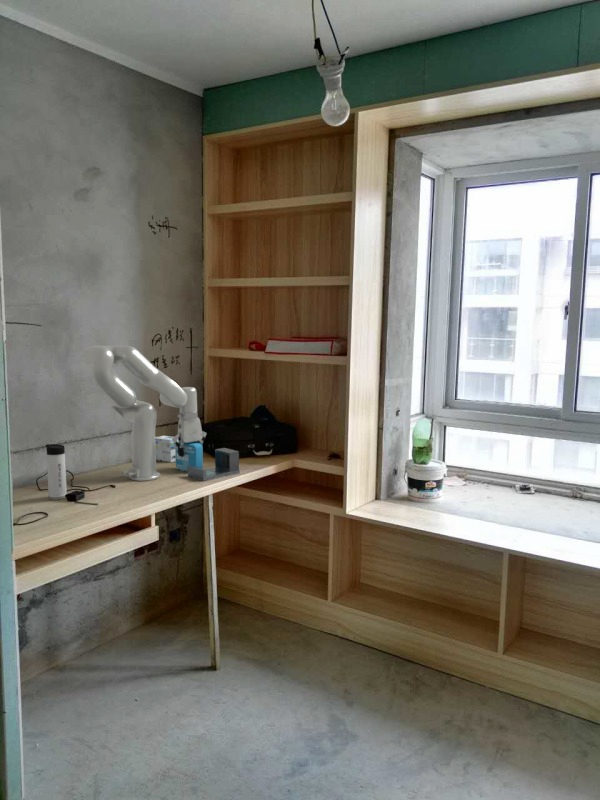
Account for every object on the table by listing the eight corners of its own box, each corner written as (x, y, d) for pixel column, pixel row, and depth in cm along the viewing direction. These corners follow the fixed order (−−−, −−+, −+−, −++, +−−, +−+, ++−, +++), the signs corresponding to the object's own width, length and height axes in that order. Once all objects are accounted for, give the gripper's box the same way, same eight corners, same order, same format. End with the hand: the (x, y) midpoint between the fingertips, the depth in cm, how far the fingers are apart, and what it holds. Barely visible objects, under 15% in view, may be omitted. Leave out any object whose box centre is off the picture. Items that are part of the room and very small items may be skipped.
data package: (175, 469, 278) (174, 442, 276) (182, 467, 282) (182, 440, 280) (196, 472, 272) (195, 445, 270) (203, 470, 275) (202, 443, 274)
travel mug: (51, 495, 236) (48, 442, 233) (69, 495, 236) (66, 442, 234) (45, 500, 230) (42, 446, 227) (63, 500, 230) (61, 446, 228)
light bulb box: (181, 460, 296) (180, 437, 294) (171, 462, 290) (170, 439, 288) (164, 457, 301) (163, 435, 300) (154, 459, 296) (153, 437, 294)
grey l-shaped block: (203, 481, 258) (203, 458, 256) (187, 476, 265) (187, 454, 264) (239, 473, 271) (239, 451, 270) (223, 468, 279) (223, 447, 277)
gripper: (176, 419, 265) (178, 459, 268) (210, 414, 277) (211, 452, 280) (166, 417, 270) (168, 456, 273) (199, 412, 282) (201, 449, 285)
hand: (190, 454), depth 276 cm, fingers open, 9 cm apart
